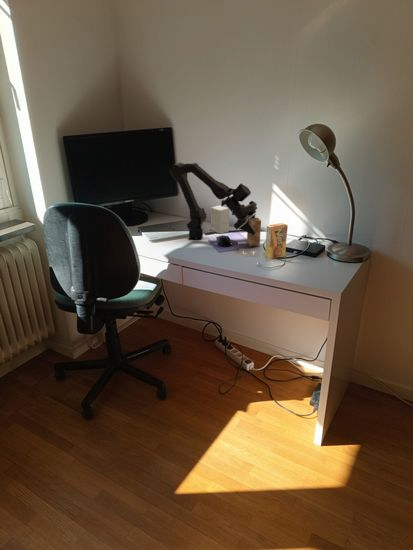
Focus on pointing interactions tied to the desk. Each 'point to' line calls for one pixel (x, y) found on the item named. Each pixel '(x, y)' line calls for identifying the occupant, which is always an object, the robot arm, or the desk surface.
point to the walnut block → (256, 227)
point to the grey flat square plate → (249, 253)
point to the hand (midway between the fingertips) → (256, 231)
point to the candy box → (276, 240)
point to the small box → (220, 219)
